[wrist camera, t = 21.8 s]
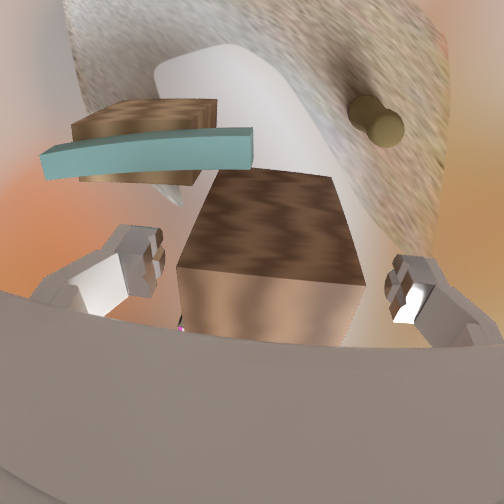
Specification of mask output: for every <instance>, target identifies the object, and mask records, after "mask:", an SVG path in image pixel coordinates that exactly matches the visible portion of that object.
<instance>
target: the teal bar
mask: <svg viewBox="0 0 504 504" xmlns="http://www.w3.org/2000/svg"><path fill="white" fill-rule="evenodd" d="M39 156H40V160H41V164H42V168H43V171H44V175H45V178H46V180H52V179H61V178H70V177H80V176H91V175H102V174H115V173H130V172H147V171H170V170H211V169H212V170H214V169H215V170H218V169H219V170H220V169H234V170H251V166H252V162H253V128H203V129H183V130H168V131H156V132H145V133H135V134H126V135H118V136H110V137H103V138H96V139H89V140H83V141H77V142H71V143H66V144H60V145H55V146H53V147H52V148H50V149H48V150H47V151H45V152H44V153H42V154H41V155H39Z"/></svg>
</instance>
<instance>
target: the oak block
mask: <svg viewBox="0 0 504 504" xmlns="http://www.w3.org/2000/svg"><path fill="white" fill-rule="evenodd" d="M216 122H217V99H145V100H127V101H121V102H118V103H116V104H114V105H111V106H109V107H107V108H105V109H102V110H100V111H98V112H96V113H94V114H92V115H89V116H87V117H85V118H83V119H82V120H79V121H77V122H75V123H73V124H71V128H72V136H73V142H77V141H83V140H89V139H96V138H103V137H110V136H118V135H126V134H135V133H145V132H156V131H168V130H183V129H203V128H216ZM200 172H201V170H170V171H147V172H130V173H115V174H102V175H91V176H80V177H79V181H84V182H87V181H88V182H125V183H149V184H168V185H185V186H192V185H193V184H194V182H195V180H196V179H197V177H198V175H199V174H200Z"/></svg>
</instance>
